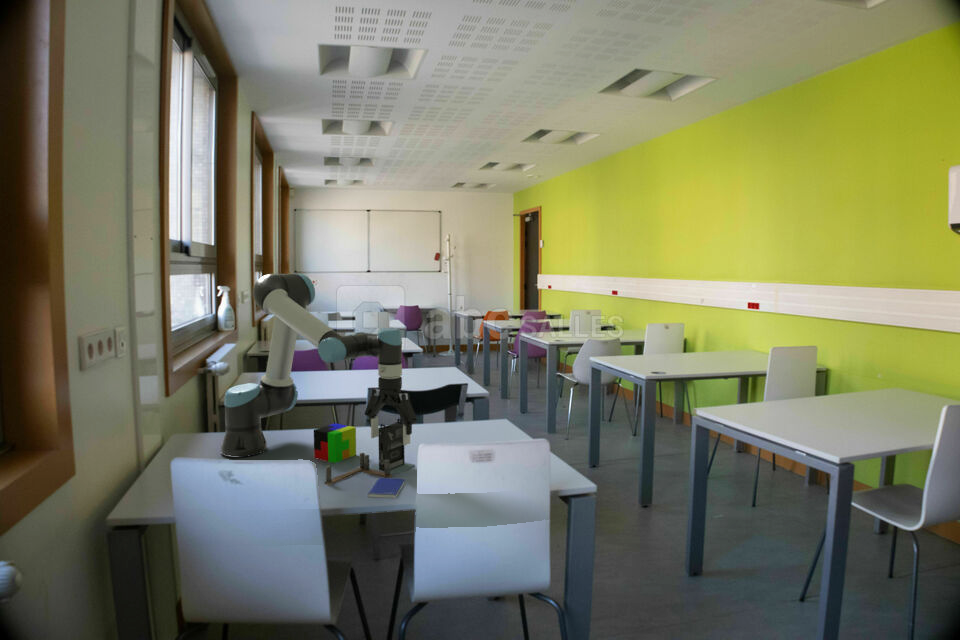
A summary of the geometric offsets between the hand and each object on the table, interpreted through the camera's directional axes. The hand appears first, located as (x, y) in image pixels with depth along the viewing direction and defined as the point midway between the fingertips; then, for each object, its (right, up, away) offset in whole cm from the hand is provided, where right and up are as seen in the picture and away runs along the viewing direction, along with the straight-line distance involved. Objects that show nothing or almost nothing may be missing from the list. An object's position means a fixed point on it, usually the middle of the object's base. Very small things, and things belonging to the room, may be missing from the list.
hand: (390, 440), depth 189 cm
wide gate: (-13, -10, -7) cm, 18 cm away
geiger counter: (0, -9, +1) cm, 9 cm away
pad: (0, -9, +1) cm, 9 cm away
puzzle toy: (-21, -8, +12) cm, 26 cm away
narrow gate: (-3, -10, -5) cm, 12 cm away
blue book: (+2, -12, -17) cm, 21 cm away
